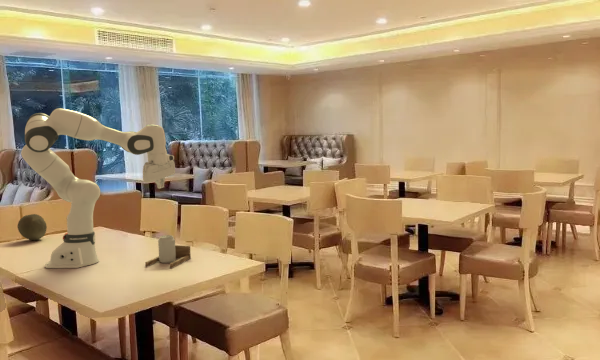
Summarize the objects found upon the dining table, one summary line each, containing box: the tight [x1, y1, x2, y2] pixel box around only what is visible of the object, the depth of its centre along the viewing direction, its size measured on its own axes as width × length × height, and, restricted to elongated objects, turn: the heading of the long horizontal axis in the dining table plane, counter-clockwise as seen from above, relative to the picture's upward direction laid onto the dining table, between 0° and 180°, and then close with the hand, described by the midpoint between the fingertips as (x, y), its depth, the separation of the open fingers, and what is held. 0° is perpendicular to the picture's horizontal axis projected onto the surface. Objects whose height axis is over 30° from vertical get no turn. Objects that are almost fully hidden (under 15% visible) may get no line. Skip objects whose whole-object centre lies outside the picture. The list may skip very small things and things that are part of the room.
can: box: [157, 234, 177, 264], centre depth 235 cm, size 8×8×12 cm
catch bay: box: [144, 244, 192, 269], centre depth 234 cm, size 17×13×6 cm
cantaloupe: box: [17, 213, 48, 241], centre depth 288 cm, size 14×14×15 cm
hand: (160, 187), depth 240 cm, fingers closed
